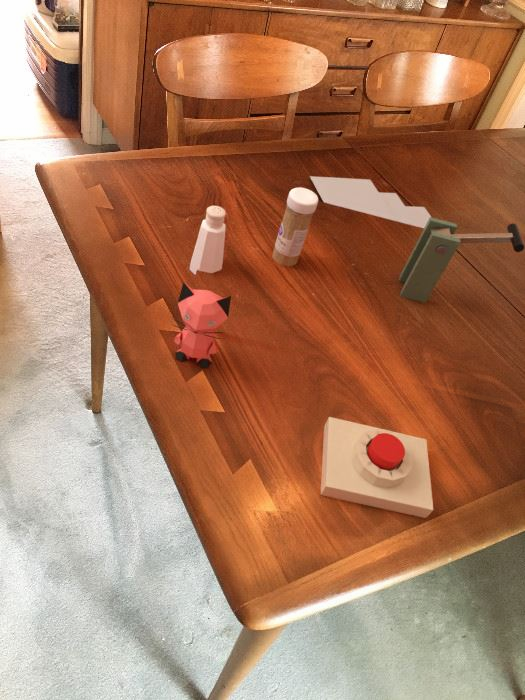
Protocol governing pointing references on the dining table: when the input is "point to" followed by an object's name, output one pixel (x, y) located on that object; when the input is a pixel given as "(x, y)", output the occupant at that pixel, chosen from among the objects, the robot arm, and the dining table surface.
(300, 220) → the sprinkles bottle
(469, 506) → the dining table surface
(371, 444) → the button
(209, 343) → the cat figurine
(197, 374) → the dining table surface
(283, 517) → the dining table surface
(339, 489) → the control block
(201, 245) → the pepper shaker
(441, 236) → the bracket
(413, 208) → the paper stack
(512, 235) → the lever
